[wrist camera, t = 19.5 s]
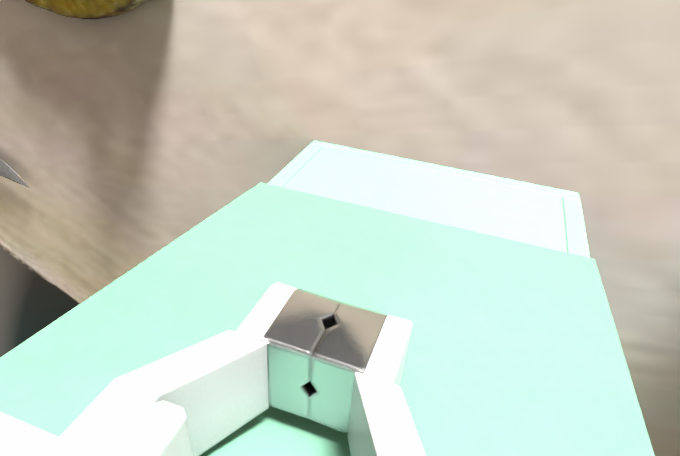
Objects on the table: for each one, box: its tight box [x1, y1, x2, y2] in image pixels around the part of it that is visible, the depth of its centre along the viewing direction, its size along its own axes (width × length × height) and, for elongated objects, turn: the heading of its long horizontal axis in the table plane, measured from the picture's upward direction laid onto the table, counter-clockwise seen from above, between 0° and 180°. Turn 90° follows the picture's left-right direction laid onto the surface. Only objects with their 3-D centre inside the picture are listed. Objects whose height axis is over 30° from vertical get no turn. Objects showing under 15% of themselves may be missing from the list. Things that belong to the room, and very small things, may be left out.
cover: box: [0, 182, 655, 456], centre depth 13 cm, size 14×14×1 cm
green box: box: [267, 140, 590, 258], centre depth 25 cm, size 13×14×6 cm
